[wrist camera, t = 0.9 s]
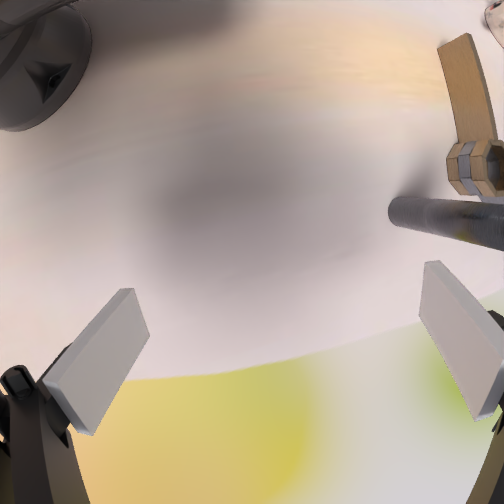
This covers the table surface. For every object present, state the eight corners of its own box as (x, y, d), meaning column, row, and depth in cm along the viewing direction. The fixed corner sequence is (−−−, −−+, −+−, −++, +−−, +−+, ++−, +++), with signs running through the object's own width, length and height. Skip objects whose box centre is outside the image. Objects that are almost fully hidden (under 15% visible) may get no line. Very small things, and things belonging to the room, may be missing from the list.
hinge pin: (382, 193, 29) (529, 202, 11) (414, 190, 29) (558, 198, 11) (385, 234, 30) (527, 276, 12) (417, 229, 30) (557, 263, 12)
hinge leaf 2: (439, 166, 29) (475, 164, 23) (461, 134, 28) (496, 128, 23) (502, 269, 32) (533, 280, 26) (520, 238, 32) (550, 244, 26)
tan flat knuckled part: (421, 46, 26) (450, 27, 20) (456, 53, 27) (485, 39, 21) (450, 195, 30) (485, 198, 24) (482, 193, 30) (516, 195, 24)
